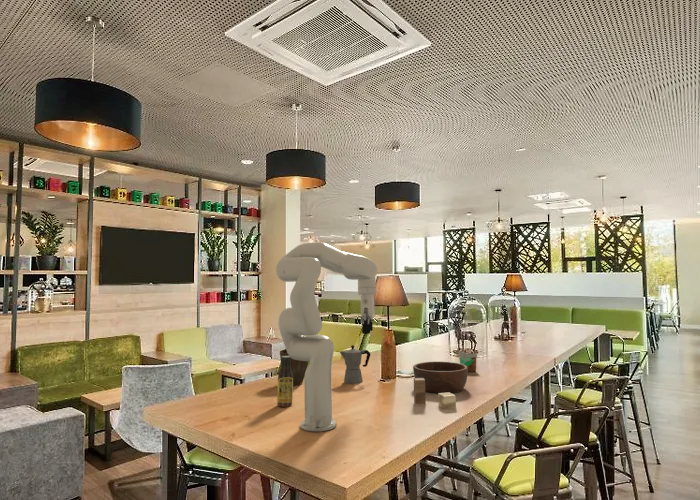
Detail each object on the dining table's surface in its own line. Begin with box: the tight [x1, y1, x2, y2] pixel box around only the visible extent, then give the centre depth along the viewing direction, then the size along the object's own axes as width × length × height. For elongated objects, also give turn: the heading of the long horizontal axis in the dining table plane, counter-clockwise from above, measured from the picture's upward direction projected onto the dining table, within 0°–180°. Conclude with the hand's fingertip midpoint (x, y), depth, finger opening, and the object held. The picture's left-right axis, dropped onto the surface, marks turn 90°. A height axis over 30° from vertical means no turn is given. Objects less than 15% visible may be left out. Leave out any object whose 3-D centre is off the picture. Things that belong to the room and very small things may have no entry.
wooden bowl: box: [412, 361, 469, 394], centre depth 210 cm, size 25×25×10 cm
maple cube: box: [437, 392, 457, 410], centre depth 180 cm, size 5×5×5 cm
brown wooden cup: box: [279, 348, 309, 386], centre depth 225 cm, size 15×15×16 cm
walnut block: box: [413, 377, 427, 406], centre depth 185 cm, size 4×4×10 cm
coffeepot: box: [339, 344, 371, 385], centre depth 227 cm, size 15×9×18 cm, turn 87°
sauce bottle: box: [276, 356, 294, 408], centre depth 186 cm, size 6×6×20 cm
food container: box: [458, 350, 478, 373], centre depth 248 cm, size 12×6×10 cm, turn 25°
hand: (367, 332), depth 190 cm, fingers open, 9 cm apart
